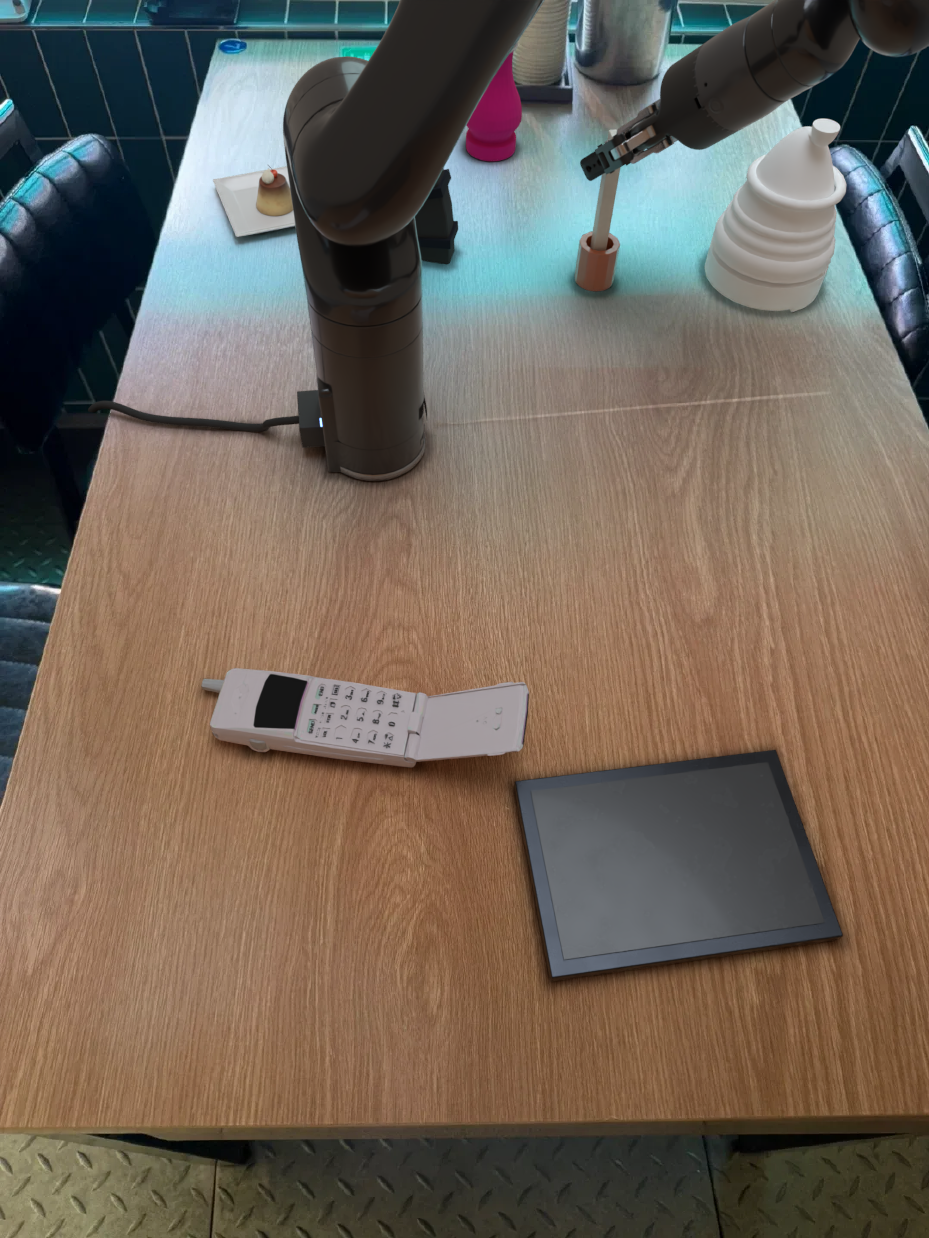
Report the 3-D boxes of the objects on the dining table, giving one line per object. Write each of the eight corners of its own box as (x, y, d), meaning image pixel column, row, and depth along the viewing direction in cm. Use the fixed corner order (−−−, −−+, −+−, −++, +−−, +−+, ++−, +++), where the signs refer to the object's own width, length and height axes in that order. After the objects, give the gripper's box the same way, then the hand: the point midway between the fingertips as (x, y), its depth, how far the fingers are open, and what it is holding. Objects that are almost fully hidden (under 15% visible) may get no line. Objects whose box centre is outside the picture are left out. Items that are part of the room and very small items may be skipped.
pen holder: (578, 296, 103) (584, 255, 99) (570, 272, 105) (576, 232, 101) (616, 293, 103) (623, 253, 99) (607, 270, 106) (614, 229, 101)
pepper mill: (454, 137, 120) (458, -42, 104) (508, 130, 122) (520, -49, 105) (471, 168, 116) (478, -14, 100) (527, 159, 118) (542, -21, 101)
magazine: (477, 261, 103) (417, 129, 92) (374, 288, 109) (307, 167, 98) (484, 241, 105) (427, 110, 95) (383, 269, 111) (318, 148, 101)
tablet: (550, 981, 62) (551, 977, 61) (513, 786, 70) (514, 780, 69) (838, 940, 64) (844, 935, 63) (772, 754, 72) (776, 748, 71)
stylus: (589, 274, 102) (612, 137, 90) (586, 266, 103) (608, 129, 91) (602, 273, 102) (626, 136, 90) (599, 265, 103) (622, 128, 91)
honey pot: (842, 299, 104) (911, 138, 89) (741, 325, 101) (795, 162, 86) (779, 233, 110) (833, 73, 96) (682, 255, 107) (722, 93, 93)
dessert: (311, 170, 115) (307, 131, 111) (340, 225, 109) (337, 186, 105) (214, 188, 112) (206, 149, 108) (238, 245, 106) (230, 206, 102)
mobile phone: (523, 754, 65) (168, 705, 66) (516, 790, 70) (186, 744, 71) (531, 680, 68) (194, 634, 70) (524, 720, 73) (209, 677, 74)
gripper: (754, 12, 82) (617, 104, 96) (663, 67, 76) (531, 156, 90) (788, 97, 84) (649, 174, 99) (702, 157, 78) (568, 230, 93)
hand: (593, 165), depth 94 cm, fingers closed on stylus
